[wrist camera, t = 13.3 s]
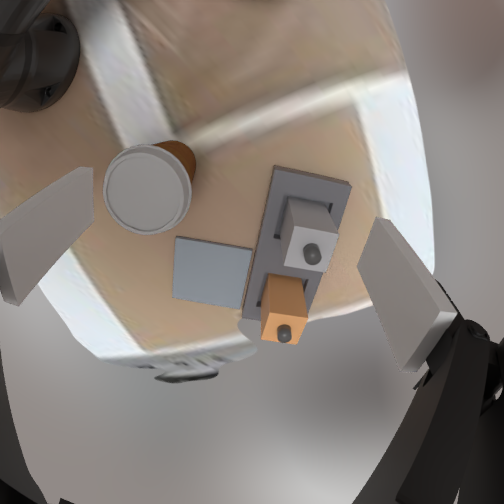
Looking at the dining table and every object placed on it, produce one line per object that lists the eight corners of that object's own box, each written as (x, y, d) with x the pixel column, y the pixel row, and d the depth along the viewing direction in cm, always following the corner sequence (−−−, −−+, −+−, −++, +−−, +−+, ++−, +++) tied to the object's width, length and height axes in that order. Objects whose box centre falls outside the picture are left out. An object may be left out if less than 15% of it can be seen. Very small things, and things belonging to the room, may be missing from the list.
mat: (173, 295, 50) (172, 297, 49) (176, 235, 44) (175, 237, 44) (239, 306, 51) (239, 309, 50) (252, 248, 45) (252, 250, 45)
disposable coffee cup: (208, 198, 41) (190, 241, 31) (141, 196, 41) (105, 236, 31) (209, 128, 37) (188, 146, 26) (137, 129, 37) (94, 149, 26)
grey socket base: (242, 309, 51) (238, 362, 41) (274, 165, 39) (279, 195, 29) (301, 318, 52) (308, 370, 42) (347, 181, 40) (375, 216, 30)
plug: (261, 297, 49) (260, 348, 40) (268, 271, 46) (270, 320, 37) (291, 303, 49) (297, 353, 40) (301, 277, 47) (309, 326, 38)
